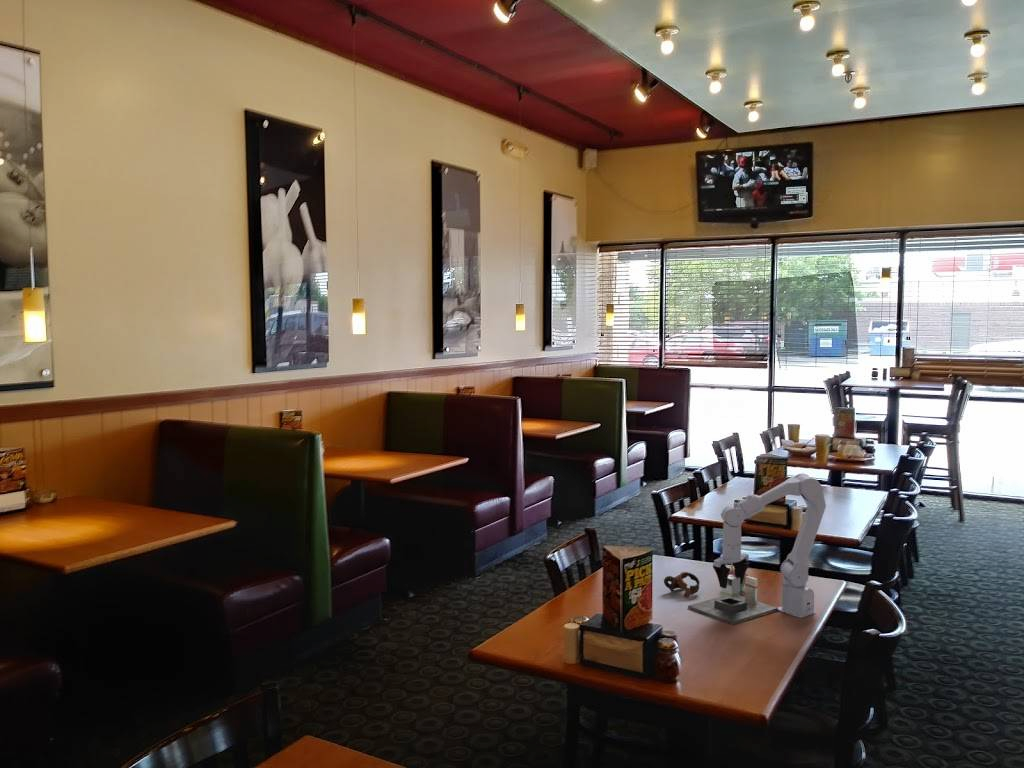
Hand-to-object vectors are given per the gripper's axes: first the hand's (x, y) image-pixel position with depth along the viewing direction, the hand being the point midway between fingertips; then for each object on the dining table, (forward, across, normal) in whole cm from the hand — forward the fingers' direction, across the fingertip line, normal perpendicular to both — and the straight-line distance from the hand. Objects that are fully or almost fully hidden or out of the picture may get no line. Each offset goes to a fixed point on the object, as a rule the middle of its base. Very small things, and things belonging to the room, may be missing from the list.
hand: (731, 585), depth 264 cm
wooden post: (+4, 0, 0) cm, 4 cm away
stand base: (+8, 0, 0) cm, 8 cm away
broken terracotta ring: (+8, 0, -21) cm, 23 cm away
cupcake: (+8, -18, -13) cm, 24 cm away
